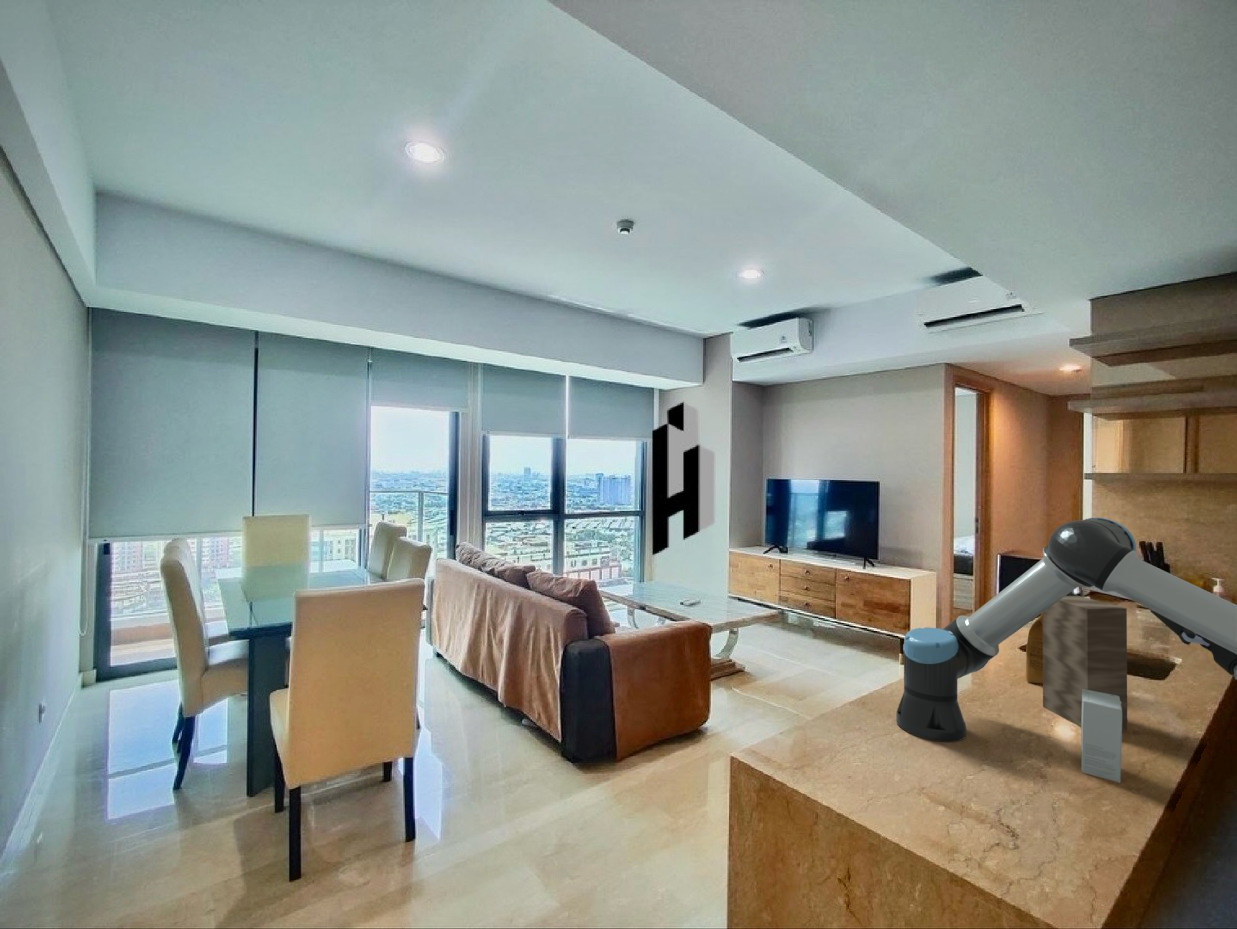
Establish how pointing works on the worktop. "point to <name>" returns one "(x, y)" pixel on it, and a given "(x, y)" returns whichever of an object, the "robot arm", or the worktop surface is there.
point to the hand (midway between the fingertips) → (1148, 583)
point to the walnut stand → (1083, 654)
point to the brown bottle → (1035, 652)
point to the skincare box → (1101, 735)
